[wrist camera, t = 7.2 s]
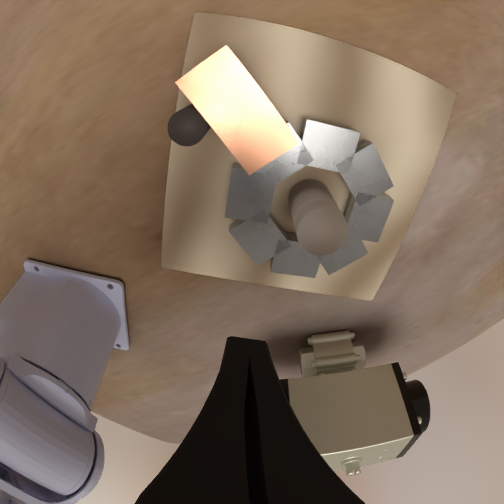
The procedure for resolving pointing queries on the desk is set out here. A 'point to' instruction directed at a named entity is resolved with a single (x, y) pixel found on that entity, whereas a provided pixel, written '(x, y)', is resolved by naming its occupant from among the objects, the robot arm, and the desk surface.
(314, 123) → the segmented ring with bar
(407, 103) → the board
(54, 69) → the desk surface
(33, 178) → the desk surface
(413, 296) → the desk surface
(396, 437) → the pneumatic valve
